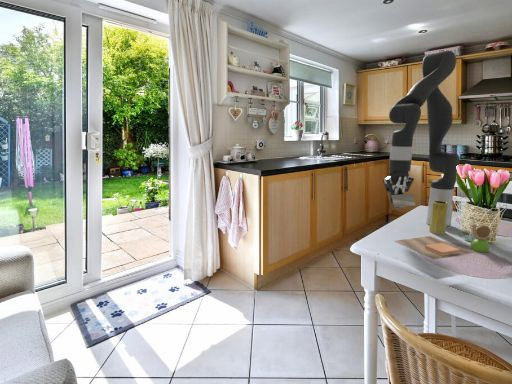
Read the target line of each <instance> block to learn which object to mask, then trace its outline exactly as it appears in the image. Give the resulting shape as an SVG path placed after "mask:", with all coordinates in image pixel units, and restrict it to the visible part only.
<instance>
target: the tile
mask: <svg viewBox="0 0 512 384" xmlns="http://www.w3.org/2000/svg"><path fill="white" fill-rule="evenodd" d="M425 249H427V250H430V251H432V252H434V253H437V254H439V255H441V256H443V255H449V254H455V253H459V251H460V250H459V249H457V248H454V247H452V246H449V245H447V244H444V243H437V244H430V245H425Z"/></svg>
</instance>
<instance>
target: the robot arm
mask: <svg viewBox="0 0 512 384" xmlns="http://www.w3.org/2000/svg"><path fill="white" fill-rule="evenodd" d="M421 65H422V66H421V70H422V71H421V72H422V79H420V80H419V81H418V82H416V83H415V84H413V86H412V87H411V88H410V90H409V91H408V92H407V94H406V95H405V96H404V97H401V98H400V99H399V100H398V101H397V102H395V103H394V104H393V105H392V107H391V108H390V111H389V113H388V117H389V120H390V121H391V122H392V123H393V124H397V125H398V124H399V125H400V124H401V125H402V124H403V125H404V124H405V125H404V127H403V128H401V129H398V130H395V131H393V133H392V139H391V148H390V152H389V153H390V154H389V162H388V163H389V164H388V170H389V174H388V176H387V177H385V178H382V181H383V182H382V183H383V185H384V188H385V190H386V193H388V192H390V193H391V195H397V191H398V195H401V194H406V193H407V192H409V191H410V188H411V187H412V185H413V182H414V180H415V179H414V177H411V176H410V174H409V172H410V171H411V168H412V157H413V140H414V135H415V131H416V128H417V126H418V124H419V121H420V119H421V117H422V116H421V115H422V109H421V107H423V105H424V104H425V103H426V110H427V111H426V114H427V115H426V116H427V127H428V138H429V139H428V141H429V143H428V144H429V146H428V166H429V170H431V172H434V173H439V174H441V173H442V174H443V175H442V177H441V178H438V179H434V180H432V181H431V182H430V188H429V189H430V190H429V197H428V206H427V215H426V224H427V225H429V226H430V222H431V215H432V208H433V201H444V202H448V208H447V216H446V227H449V226H451V224H452V218H453V210H454V205H453V200H454V191H455V190H454V189H455V186H456V185H455V184H456V183H457V179H456V166H457V165H459V166H460V157H459V154H457V153H456V152H448V151H447V152H446V151H444V152H443V151H442V147H443V146H442V144H443V140H444V138H445V136H446V135H447V133H448V132H449V130H450V129H451V128H452V125H453V107H452V104H451V102H450V101H449V99H448V98H447V97H446V96H445V95H444V94H443V92H442V91H441V90H440V88H439V86H440V85H441V84H442V83H443V82H444V81H445V80H446V79H447V78H449V76H451V74H452V73H453V72H454V70H455V69H456V65H457V57H456V54H455V52H454V51H452V50H446V51H445V50H444V51H439V52H436V53H435V52H434V53H431V54H430V53H429V54H427V55H425V56H424V57H423V60H422V64H421ZM390 201H391V203H393V200H392V196H391V198H390Z"/></svg>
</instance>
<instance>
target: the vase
mask: <svg viewBox="0 0 512 384" xmlns="http://www.w3.org/2000/svg"><path fill="white" fill-rule="evenodd" d="M447 208H448V202H444V201H433V208H432V215H431V222H430V225H429V229H428V231H429V233H432V234H434V235H445V234H446V216H447Z"/></svg>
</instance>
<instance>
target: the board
mask: <svg viewBox="0 0 512 384" xmlns="http://www.w3.org/2000/svg"><path fill="white" fill-rule="evenodd" d="M394 242H395V243H397V244H399V245H401V246H403V247H406V248H407V249H408V248H409V249H410V250H413V251H415V252H417V253H419V254H421V255H424V256H425V257H428V258H430V259H433V260H436V259H442V258H448V257H455V256H461V255H468V254H472V253H474V252H473V251H470V250H468V249H465V248H463V247H460V246H457V245H454V244H452V243H450V242H446V241H443V240H441V239H438V238H436V237H434V236H431V235H428V236H422V237H421V236H420V237H413V238H405V239H404V238H403V239H398V240H394ZM437 243H444V244H447V245H449V246H452V247H454V248H457V249H459V250H460V251H459V253H455V254H449V255H443V256H441V255H439V254H437V253H434V252H432V251H430V250H427V249H425V245H430V244H437Z"/></svg>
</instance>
